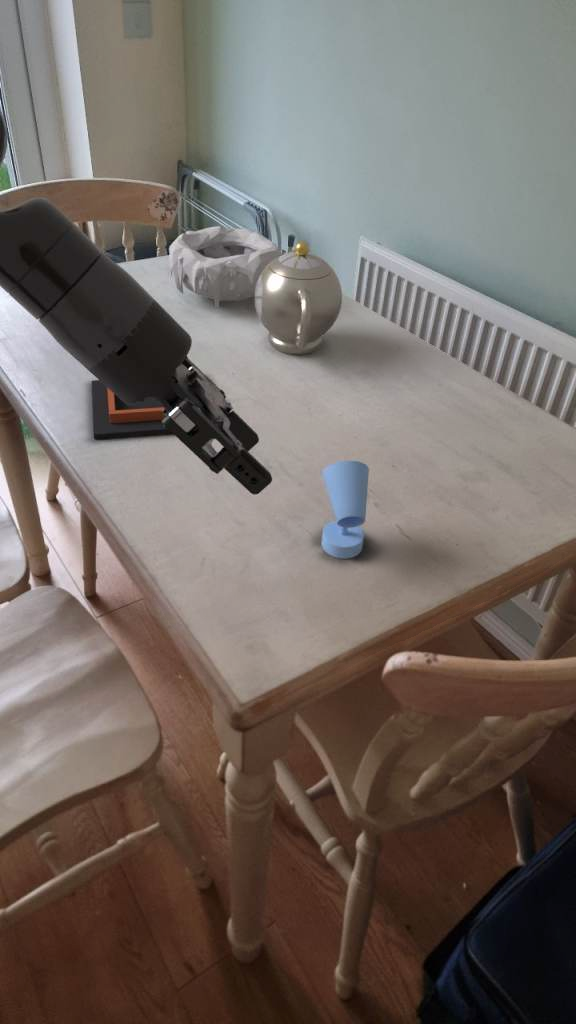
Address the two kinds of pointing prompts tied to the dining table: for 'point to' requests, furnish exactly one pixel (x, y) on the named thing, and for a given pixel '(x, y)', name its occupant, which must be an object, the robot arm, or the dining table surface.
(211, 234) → the bowl
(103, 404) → the pad
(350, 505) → the spotlight
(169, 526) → the dining table surface
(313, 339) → the teapot
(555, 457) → the dining table surface
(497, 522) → the dining table surface
